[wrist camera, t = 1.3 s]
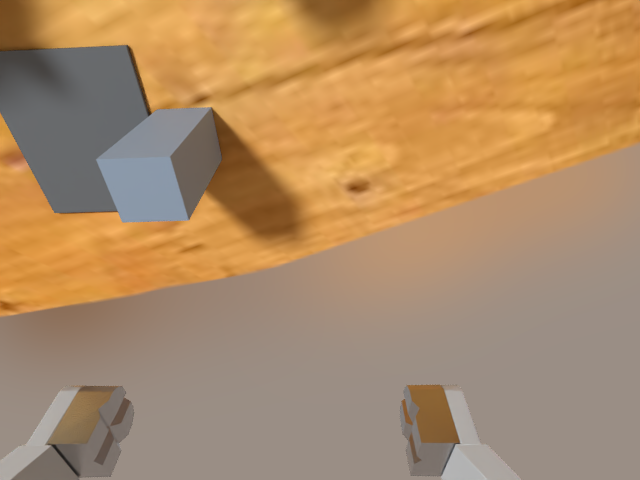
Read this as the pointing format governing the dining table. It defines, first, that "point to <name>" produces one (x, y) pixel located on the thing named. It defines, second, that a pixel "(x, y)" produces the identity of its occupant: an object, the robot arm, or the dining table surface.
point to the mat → (70, 117)
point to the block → (162, 165)
